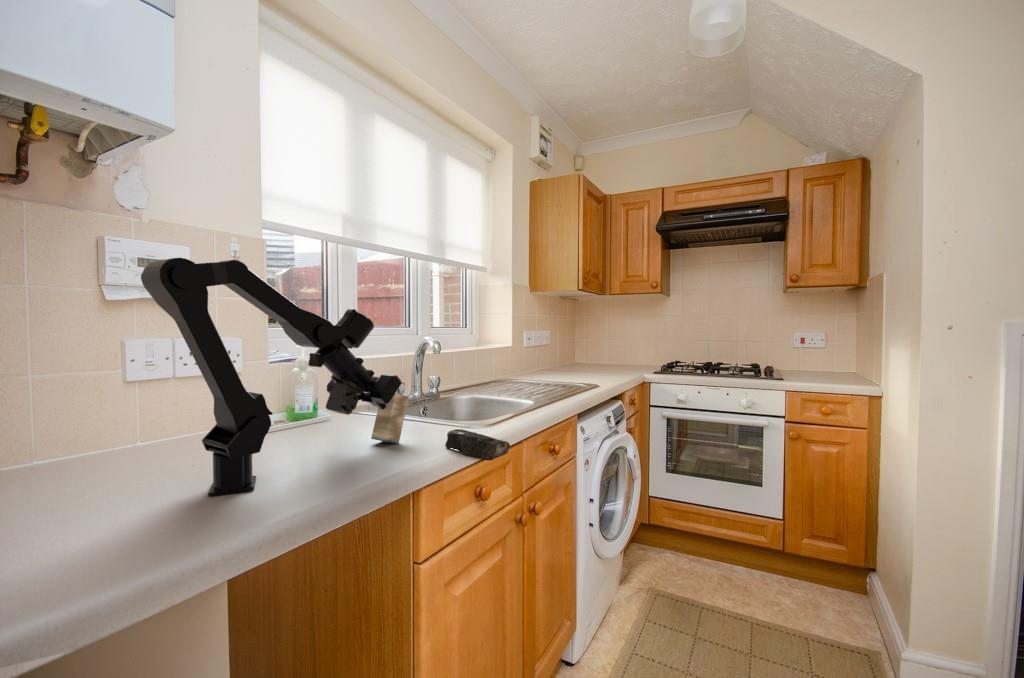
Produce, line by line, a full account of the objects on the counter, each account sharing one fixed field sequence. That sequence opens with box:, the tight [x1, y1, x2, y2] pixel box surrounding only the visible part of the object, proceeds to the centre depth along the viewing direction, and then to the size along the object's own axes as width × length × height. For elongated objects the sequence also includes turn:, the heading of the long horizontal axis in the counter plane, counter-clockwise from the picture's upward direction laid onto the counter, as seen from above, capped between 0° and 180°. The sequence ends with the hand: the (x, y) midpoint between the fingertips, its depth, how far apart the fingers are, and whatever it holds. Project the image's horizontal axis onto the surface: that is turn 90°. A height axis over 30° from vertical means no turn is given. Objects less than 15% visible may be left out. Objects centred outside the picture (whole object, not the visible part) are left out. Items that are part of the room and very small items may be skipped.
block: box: [371, 393, 410, 444], centre depth 107 cm, size 4×4×11 cm
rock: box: [444, 428, 511, 462], centre depth 100 cm, size 8×16×4 cm, turn 58°
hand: (383, 407), depth 105 cm, fingers closed
